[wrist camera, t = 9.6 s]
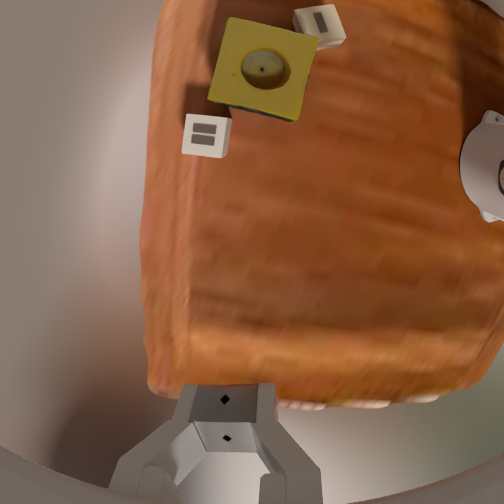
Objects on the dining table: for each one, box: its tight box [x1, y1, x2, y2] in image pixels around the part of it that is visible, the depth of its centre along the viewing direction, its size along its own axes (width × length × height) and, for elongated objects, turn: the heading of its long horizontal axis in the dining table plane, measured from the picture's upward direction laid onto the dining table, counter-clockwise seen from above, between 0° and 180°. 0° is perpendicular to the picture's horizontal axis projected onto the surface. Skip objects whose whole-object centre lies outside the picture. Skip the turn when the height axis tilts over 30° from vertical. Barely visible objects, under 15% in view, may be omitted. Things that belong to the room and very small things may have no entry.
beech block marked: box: [292, 4, 346, 50], centre depth 30 cm, size 5×5×5 cm
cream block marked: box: [182, 114, 232, 158], centre depth 37 cm, size 5×5×5 cm
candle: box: [207, 17, 319, 122], centre depth 31 cm, size 10×10×10 cm
